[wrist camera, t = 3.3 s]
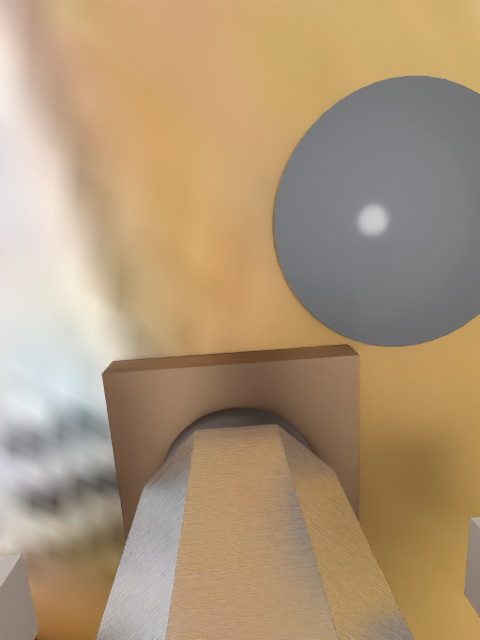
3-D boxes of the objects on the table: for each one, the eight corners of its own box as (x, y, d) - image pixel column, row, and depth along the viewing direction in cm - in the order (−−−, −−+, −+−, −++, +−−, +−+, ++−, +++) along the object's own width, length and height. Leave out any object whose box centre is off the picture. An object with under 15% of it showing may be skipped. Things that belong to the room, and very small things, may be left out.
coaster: (277, 349, 16) (280, 355, 16) (266, 91, 14) (269, 83, 14) (506, 333, 17) (520, 337, 16) (529, 77, 15) (547, 68, 14)
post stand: (140, 560, 18) (36, 970, 8) (112, 361, 16) (-77, 575, 6) (347, 542, 19) (499, 916, 8) (347, 344, 16) (550, 521, 6)
